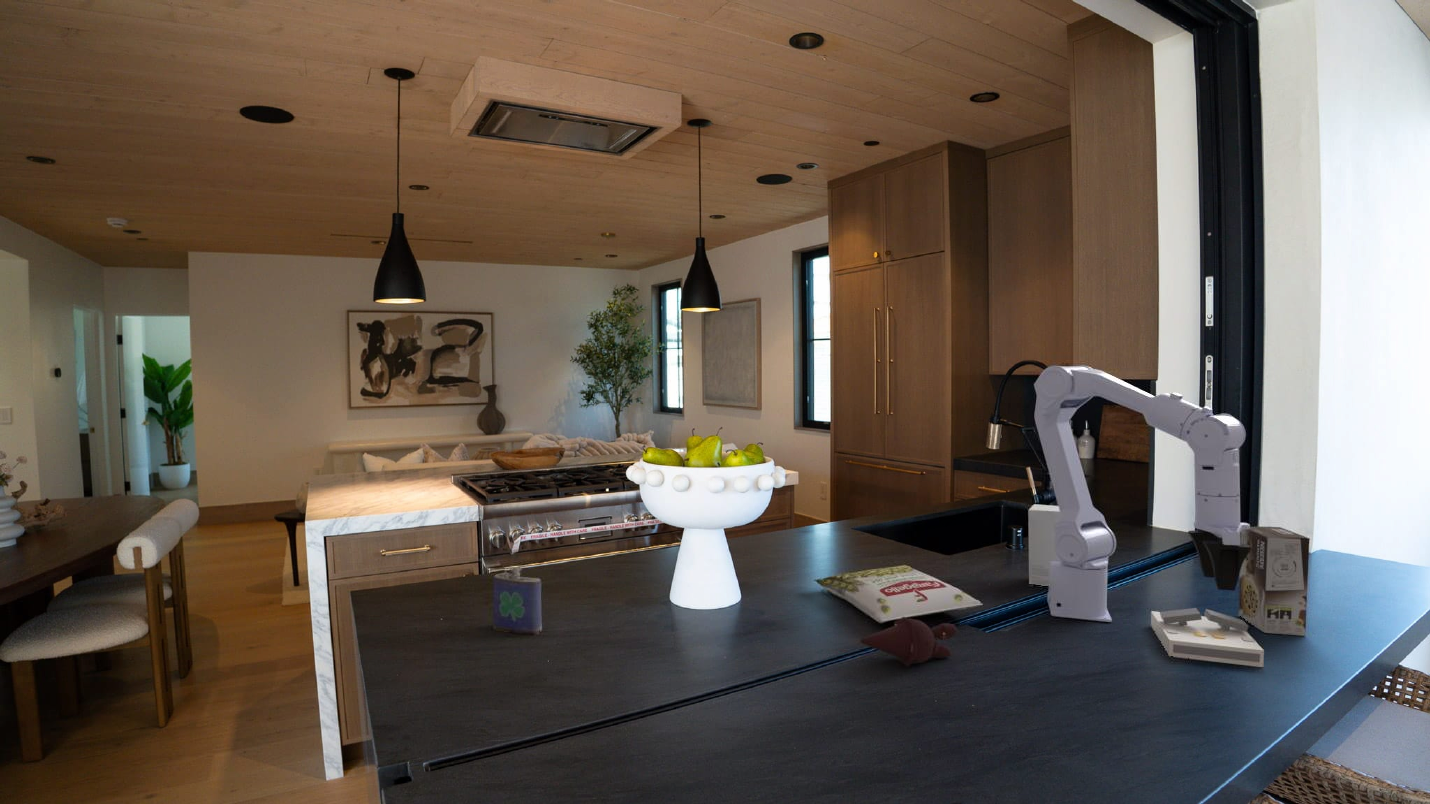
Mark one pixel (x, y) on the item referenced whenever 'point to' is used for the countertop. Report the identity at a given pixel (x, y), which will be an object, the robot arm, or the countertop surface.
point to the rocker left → (1180, 616)
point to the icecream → (912, 641)
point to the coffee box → (1274, 580)
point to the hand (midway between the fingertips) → (1218, 583)
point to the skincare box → (1041, 542)
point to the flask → (517, 603)
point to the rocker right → (1226, 621)
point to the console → (1207, 642)
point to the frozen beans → (897, 593)
